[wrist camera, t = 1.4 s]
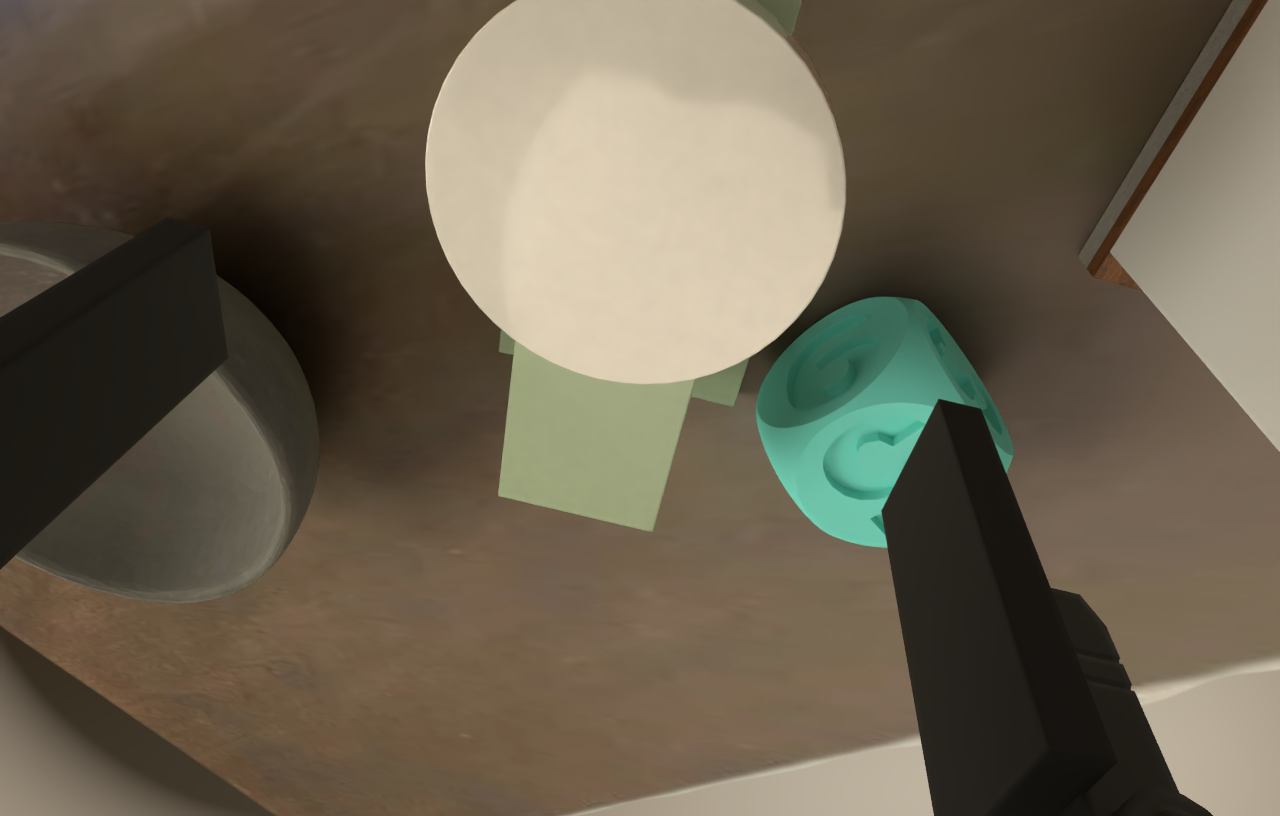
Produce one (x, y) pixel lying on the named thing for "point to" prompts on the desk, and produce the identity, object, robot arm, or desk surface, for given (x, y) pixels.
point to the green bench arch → (601, 425)
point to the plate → (637, 182)
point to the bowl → (180, 453)
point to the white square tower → (1212, 212)
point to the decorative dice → (862, 409)
